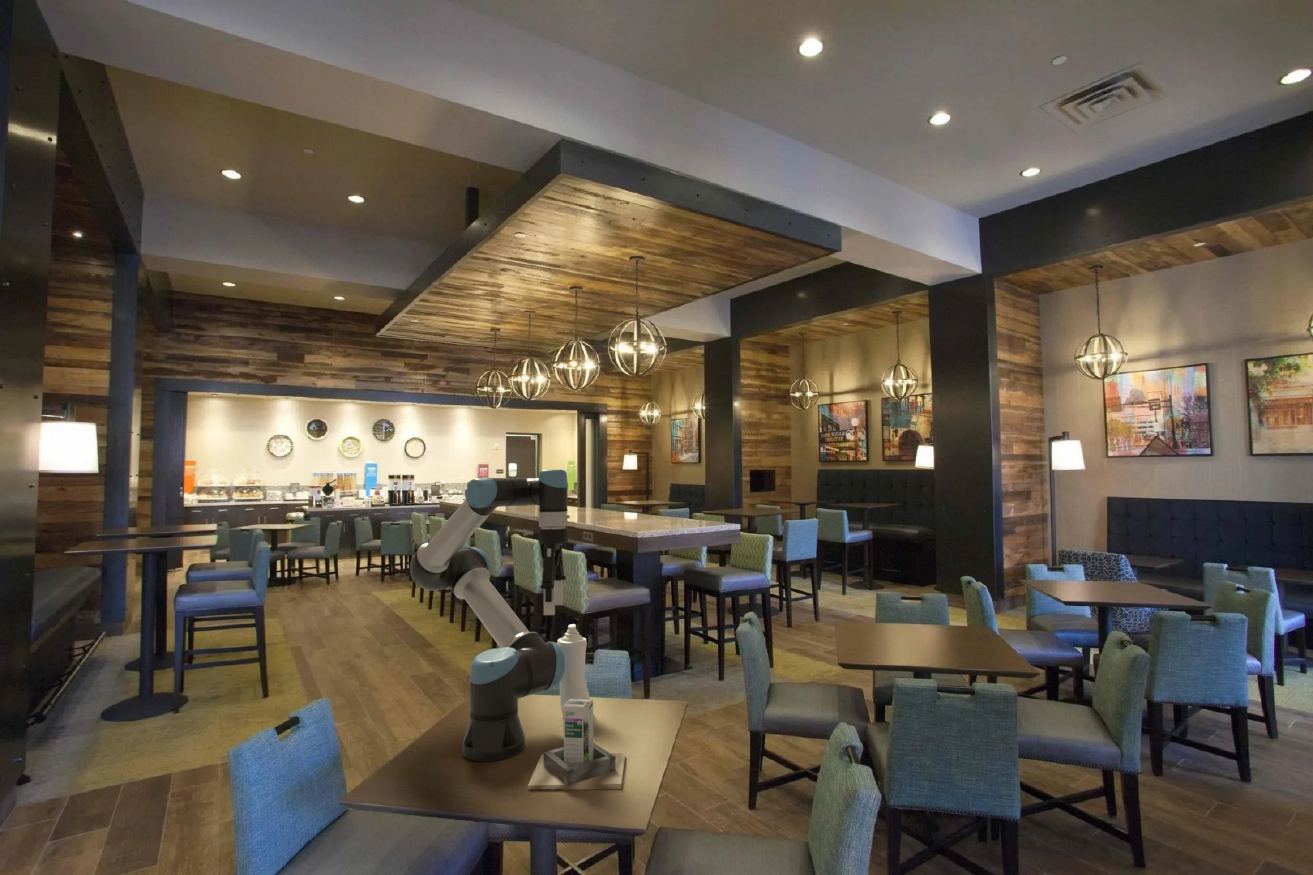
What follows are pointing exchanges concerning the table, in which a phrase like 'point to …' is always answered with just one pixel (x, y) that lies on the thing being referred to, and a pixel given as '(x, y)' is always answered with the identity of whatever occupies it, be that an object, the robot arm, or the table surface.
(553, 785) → the socket board
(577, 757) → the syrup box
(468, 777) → the table surface
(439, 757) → the table surface
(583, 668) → the spray can
